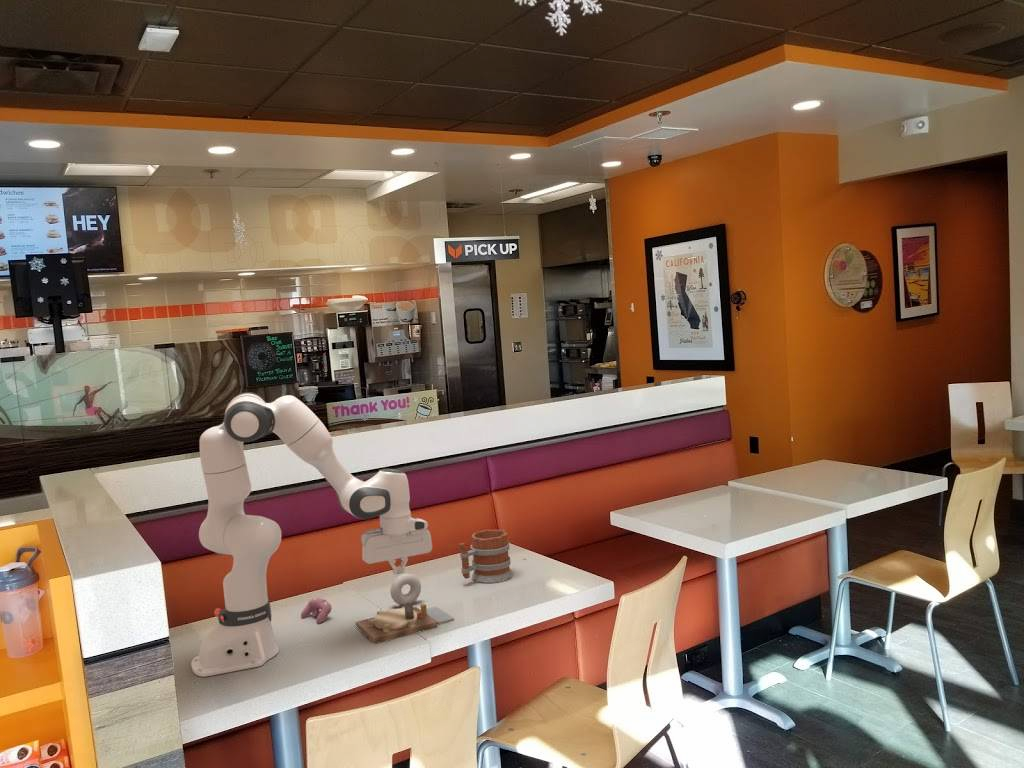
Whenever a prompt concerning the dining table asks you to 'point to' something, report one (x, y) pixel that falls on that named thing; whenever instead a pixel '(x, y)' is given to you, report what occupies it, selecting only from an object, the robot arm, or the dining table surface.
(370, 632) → the wheel base
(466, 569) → the mug
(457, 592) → the dining table surface
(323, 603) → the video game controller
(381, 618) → the index wheel
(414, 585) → the donut
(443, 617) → the donut mat
